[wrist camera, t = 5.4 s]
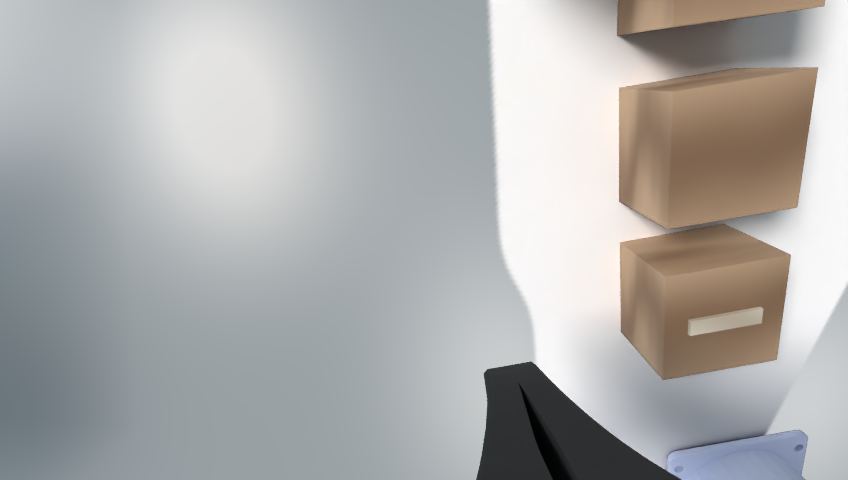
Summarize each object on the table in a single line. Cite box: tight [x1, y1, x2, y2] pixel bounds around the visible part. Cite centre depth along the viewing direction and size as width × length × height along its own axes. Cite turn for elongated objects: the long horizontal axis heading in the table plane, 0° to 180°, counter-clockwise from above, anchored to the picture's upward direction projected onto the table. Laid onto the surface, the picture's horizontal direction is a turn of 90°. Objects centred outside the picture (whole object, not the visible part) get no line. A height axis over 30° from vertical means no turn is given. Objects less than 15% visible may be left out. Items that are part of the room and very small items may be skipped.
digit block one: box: [620, 224, 791, 380], centre depth 20 cm, size 5×5×4 cm
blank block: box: [619, 67, 818, 229], centre depth 18 cm, size 5×5×4 cm
